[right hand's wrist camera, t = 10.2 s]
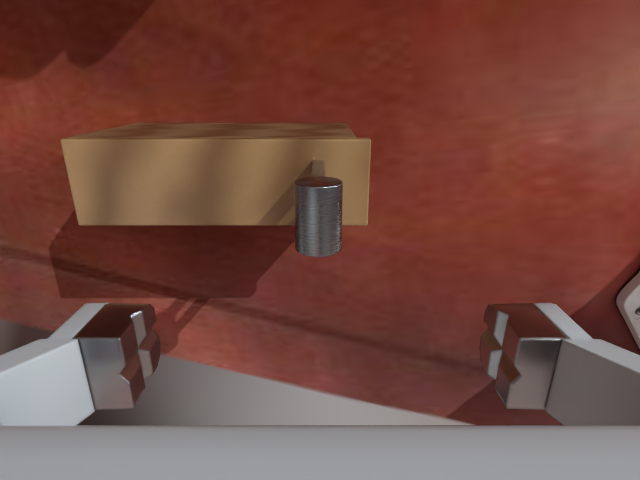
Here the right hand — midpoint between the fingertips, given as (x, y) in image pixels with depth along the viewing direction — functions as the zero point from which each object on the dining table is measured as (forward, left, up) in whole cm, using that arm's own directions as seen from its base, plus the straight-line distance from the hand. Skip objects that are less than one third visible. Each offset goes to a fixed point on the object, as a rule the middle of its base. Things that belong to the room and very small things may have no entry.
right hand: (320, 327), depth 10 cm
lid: (+2, +5, -16) cm, 17 cm away
